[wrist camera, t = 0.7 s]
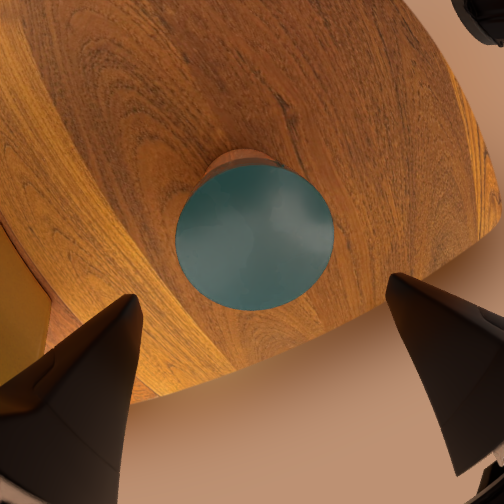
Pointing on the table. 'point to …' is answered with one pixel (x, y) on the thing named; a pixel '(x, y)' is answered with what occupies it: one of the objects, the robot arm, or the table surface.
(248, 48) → the table surface
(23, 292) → the flower pot
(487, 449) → the robot arm
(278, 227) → the jar lid
